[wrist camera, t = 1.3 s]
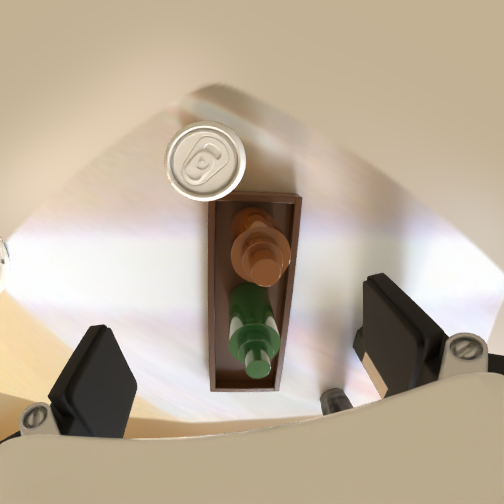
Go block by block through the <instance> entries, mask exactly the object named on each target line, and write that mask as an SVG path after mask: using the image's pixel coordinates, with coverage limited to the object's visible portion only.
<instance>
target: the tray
mask: <svg viewBox="0 0 504 504" xmlns="http://www.w3.org/2000/svg"><path fill="white" fill-rule="evenodd" d="M250 205H256V206H260V207H263V208H265V209H266V210H268V211H269V212H270V213H271V215H272V216H273V218H274V220H275V221H276V223H277V224H278V226H279V228H280V229H281V231H282V233H283V234H284V236H285V238H286V239H287V241H288V243H289V246H290V250H291V258H290V262H289V265H288V267H287V268H286V270H285V271H284V272H283V274H282V275H281V276H280V278H279V280H278V281H277V282H276V283H275V284H274V285H271V286H268V287H264V288H265V289H266V291H267V292H268V294H269V298H270V302H271V305H272V309H273V313H274V317H275V321H276V324H277V328H278V332H279V336H280V340H281V345H280V349H279V351H278V353H277V354H276V355H275V356H274V357H273V358H272V359H271V360H270V366H271V370H270V373H269V374H268V375H267V376H265V377H263V378H252V377H250V376H248V374H247V373H246V369H245V364H244V363H242V362H240V361H238V360H237V359H235V358H234V357H233V355H232V354H231V352H230V350H229V335H228V297H229V294H230V292H231V291H232V290H233V289H234V288H235V287H236V286H237V285H239V284H242V283H245V282H250V281H247V280H245V279H244V278H242V277H241V276H240V275H239V274H238V273H237V272H236V271H235V269H234V267H233V265H232V262H231V243H230V224H231V220H232V218H233V216H234V215H235V213H236V212H237V211H239V210H240V209H241V208H243V207H246V206H250ZM301 205H302V197H301V196H299V195H298V194H289V193H270V192H247V191H231V192H230V193H228V194H227V195H225V196H223V197H221V198H219V199H216V200H212V201H209V205H208V331H209V366H210V391H211V392H269V391H279V387H280V381H281V374H282V367H283V360H284V353H285V346H286V339H287V332H288V324H289V316H290V308H291V300H292V292H293V284H294V275H295V266H296V257H297V247H298V237H299V227H300V216H301ZM253 283H254V282H253Z"/></svg>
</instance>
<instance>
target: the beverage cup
mask: <svg viewBox="0 0 504 504" xmlns="http://www.w3.org/2000/svg"><path fill="white" fill-rule="evenodd" d="M320 401H321V408H322V413H323V416H324V415H328V414H332V413H336V412H340V411H344V410H347V409H351V408H353V406H352V404H351V403H350V401H349V399H348V397H347V396H346V395H345V393H344V391H343V390H342V389H339V388H335V389H331V390H328V391H326V392H325V393H324V394H323V395H322V396H321V398H320Z"/></svg>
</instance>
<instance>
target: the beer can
mask: <svg viewBox="0 0 504 504" xmlns="http://www.w3.org/2000/svg"><path fill="white" fill-rule="evenodd" d="M164 164H165V171H166V174H167V177H168V179H169V181H170V183H171V184H172V186H173V187H174V188H175V189H176V190H177V191H178V192H179V193H181V194H182V195H184V196H186V197H188V198H190V199H193V200H197V201H212V200H216V199H219V198H221V197H223V196H225V195H227V194H228V193H230V192H231V191H232V190H233V189H234V188H235V187H236V186H237V185H238V183H239V182H240V180H241V179H242V176H243V174H244V171H245V166H246V154H245V150H244V147H243V144H242V142H241V140H240V139H239V137H238V136H237V135H236V134H235V133H234V132H233V131H232V130H231V129H230V128H228V127H227V126H225V125H223V124H221V123H217V122H213V121H199V122H194V123H191V124H189V125H187V126H185V127H183V128H182V129H181V130H179V131H178V132H177V133H176V134H175V135H174V136H173V138H172V139H171V141H170V142H169V144H168V147H167V149H166V153H165V161H164Z"/></svg>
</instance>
